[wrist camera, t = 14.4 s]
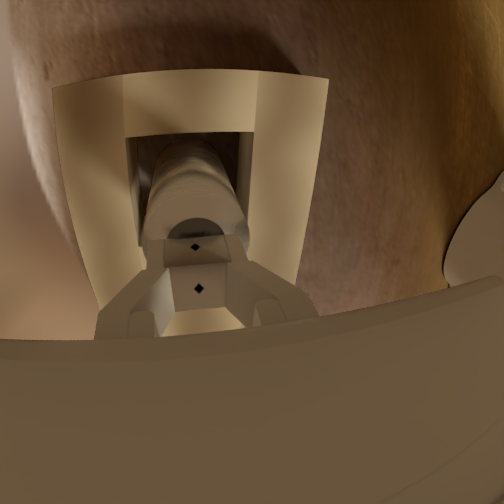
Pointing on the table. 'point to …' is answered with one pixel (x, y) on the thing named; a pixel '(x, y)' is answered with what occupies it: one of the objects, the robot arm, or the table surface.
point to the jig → (188, 121)
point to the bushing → (192, 196)
